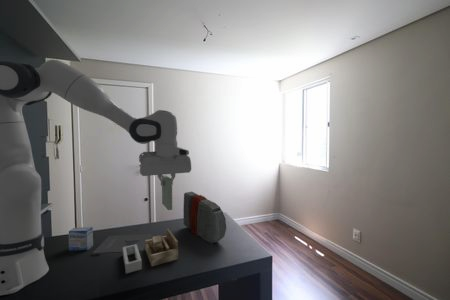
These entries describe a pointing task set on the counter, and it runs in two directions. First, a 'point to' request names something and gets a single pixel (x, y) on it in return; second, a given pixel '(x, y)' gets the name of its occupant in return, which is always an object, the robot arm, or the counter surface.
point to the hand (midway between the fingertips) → (166, 185)
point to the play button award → (121, 243)
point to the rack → (169, 250)
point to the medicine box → (80, 238)
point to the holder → (134, 264)
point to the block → (167, 192)
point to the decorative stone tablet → (204, 217)
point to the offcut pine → (157, 241)
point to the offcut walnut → (157, 249)
